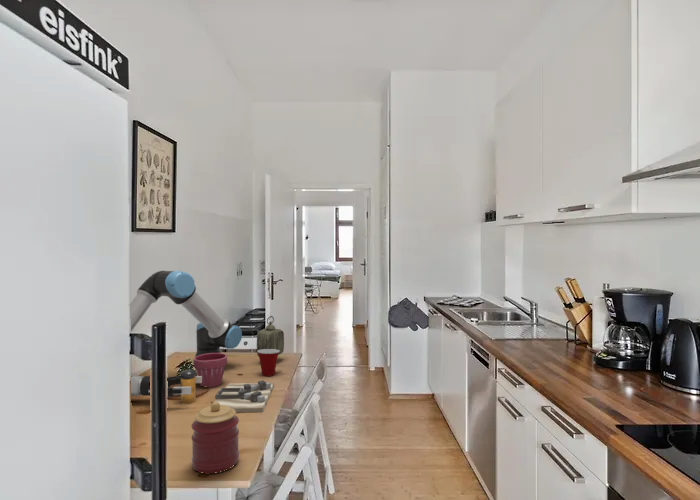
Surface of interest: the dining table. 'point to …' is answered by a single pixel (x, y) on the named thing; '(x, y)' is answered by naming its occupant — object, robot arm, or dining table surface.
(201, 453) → the canister
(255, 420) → the dining table surface
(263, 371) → the plastic cup
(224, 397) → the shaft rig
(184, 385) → the orange translucent cylinder
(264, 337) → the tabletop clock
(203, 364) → the plant pot
